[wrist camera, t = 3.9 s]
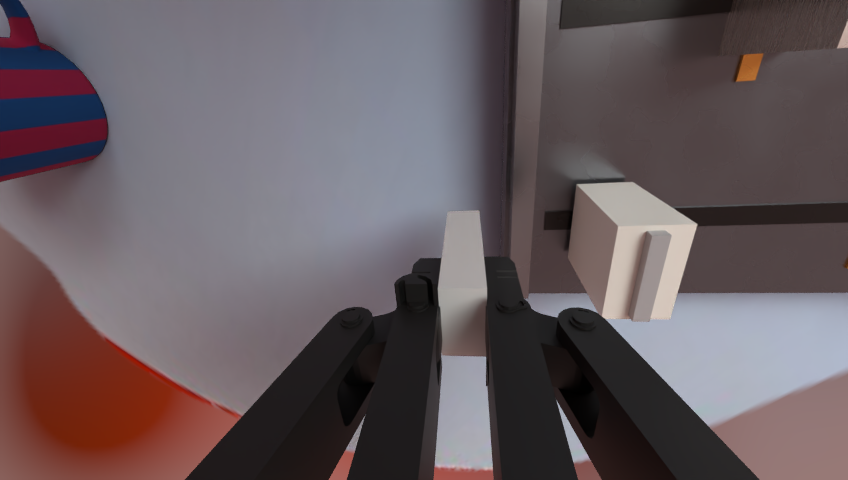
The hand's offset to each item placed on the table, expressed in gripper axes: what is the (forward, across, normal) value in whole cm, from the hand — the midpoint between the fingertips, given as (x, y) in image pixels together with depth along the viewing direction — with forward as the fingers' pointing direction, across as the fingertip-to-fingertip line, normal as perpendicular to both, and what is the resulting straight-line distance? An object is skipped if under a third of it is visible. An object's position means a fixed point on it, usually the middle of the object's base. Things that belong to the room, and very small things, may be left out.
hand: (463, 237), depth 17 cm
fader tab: (+1, +7, 0) cm, 7 cm away
